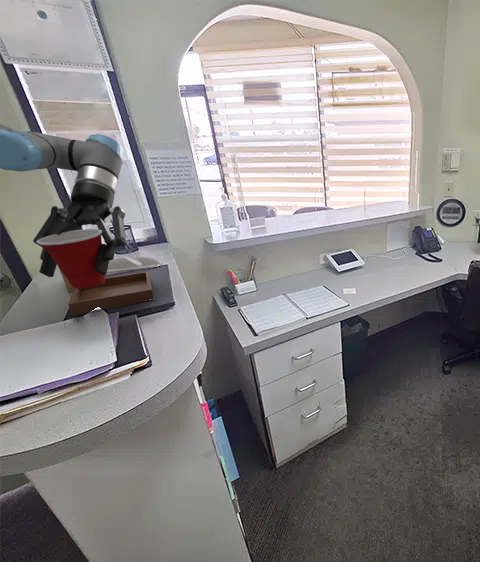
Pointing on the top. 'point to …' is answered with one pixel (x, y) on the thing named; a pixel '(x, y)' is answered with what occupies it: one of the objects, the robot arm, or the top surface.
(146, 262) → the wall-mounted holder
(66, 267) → the plastic cup
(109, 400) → the top surface
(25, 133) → the robot arm
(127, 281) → the tray
